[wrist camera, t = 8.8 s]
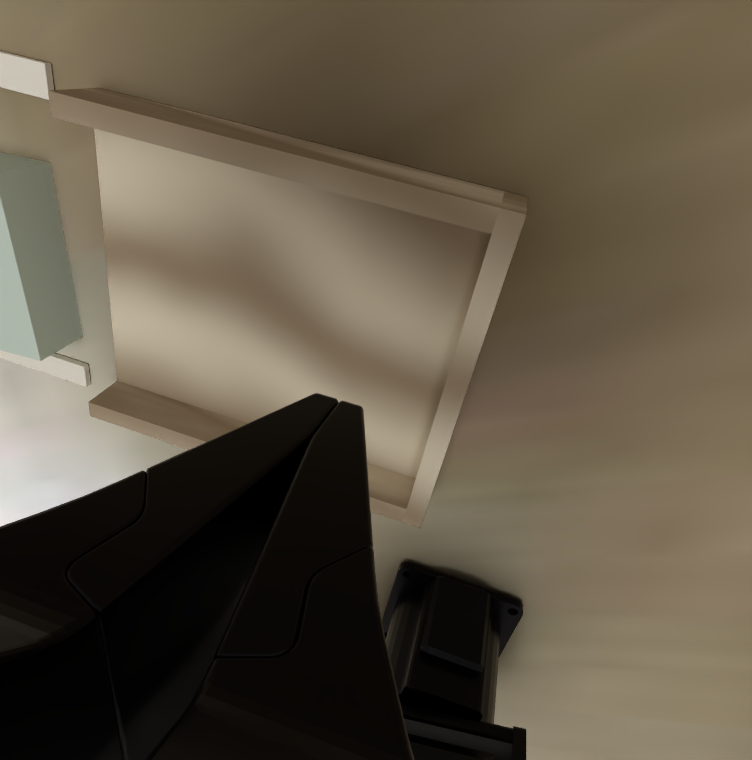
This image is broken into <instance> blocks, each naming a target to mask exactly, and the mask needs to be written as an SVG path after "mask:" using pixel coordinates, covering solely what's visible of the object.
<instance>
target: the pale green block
mask: <svg viewBox="0 0 752 760" xmlns="http://www.w3.org/2000/svg"><path fill="white" fill-rule="evenodd" d="M82 336H83V333H82V328H81V323H80V317H79V312H78V307H77V301H76V296H75V291H74V286H73V280H72V275H71V270H70V265H69V259H68V254H67V249H66V243H65V238H64V233H63V228H62V222H61V217H60V212H59V207H58V201H57V196H56V191H55V185H54V180H53V175H52V170H51V164H50V162H45V161H40V160H35V159H30V158H25V157H20V156H15V155H11V154H6V153H1V152H0V350H2V351H5V352H9V353H13V354H16V355H20V356H24V357H27V358H31V359H35V360H38V361H42V360H43V359H45V358H47V357H49V356H50V355H52V354H54V353H55V352H57V351H59V350H60V349H62V348H64V347H65V346H67V345H69V344H70V343H72V342H74V341H76V340H77V339H79V338H81V337H82Z"/></svg>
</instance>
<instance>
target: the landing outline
mask: <svg viewBox="0 0 752 760" xmlns="http://www.w3.org/2000/svg"><path fill="white" fill-rule="evenodd" d="M0 87H2V88H6V89H10V90H13V91H17V92H21V93H25V94H29V95H33V96H36V97H40V98H44V99H48V100H49V95H48V91H50V90H54V84H53V76H52V68H51V63H47V62H43V61H39V60H35V59H31V58H27V57H23V56H19V55H15V54H11V53H7V52H3V51H0ZM0 358H2V359H5V360H8V361H11V362H14V363H17V364H20V365H23V366H26V367H29V368H32V369H35V370H38V371H41V372H44V373H47V374H50V375H53V376H56V377H59V378H62V379H65V380H68V381H71V382H74V383H77V384H80V385H83V386H86V387H87V386H88V385H90V384H91V381H90V373H89V365H88V364H86V363H83V362H80V361H77V360H74V359H71V358H68V357H65V356H62V355H59V354H56V353H54V354H52V355H50V356H49V357H47V358H45V359H43V360H42V361H38V360H35V359H31V358H27V357H24V356H20V355H16V354H13V353H9V352H5V351H2V350H0Z"/></svg>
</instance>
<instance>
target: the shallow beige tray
mask: <svg viewBox="0 0 752 760" xmlns="http://www.w3.org/2000/svg"><path fill="white" fill-rule="evenodd" d="M48 95H49V103H50V111H51V117H53V118H57V119H60V120H64V121H68V122H72V123H76V124H79V125H83V126H87V127H91V128H94V132H95V143H96V153H97V164H98V175H99V186H100V197H101V208H102V219H103V230H104V241H105V252H106V262H107V273H108V284H109V295H110V306H111V317H112V328H113V339H114V350H115V361H116V371H117V381H116V382H115V383H114V384H112V385H111V386H110V387H108V388H107V389H106V390H104V391H103V392H102V393H100V394H99V395H98V396H96V397H95V398H94V399H92V400H91V401H89V410H90V416H92V417H95V418H98V419H101V420H104V421H107V422H109V423H112V424H115V425H118V426H121V427H124V428H127V429H130V430H133V431H136V432H139V433H142V434H145V435H148V436H151V437H154V438H157V439H159V440H162V441H165V442H168V443H171V444H174V445H177V446H180V447H183V448H186V449H189V450H190V449H192V448H194V447H196V446H199V445H201V444H203V443H205V442H208V441H210V440H212V439H214V438H216V437H219V436H221V435H223V434H225V433H228V432H230V431H232V430H234V429H236V428H239V427H241V426H243V425H245V424H247V423H250V422H252V421H254V420H256V419H259V418H261V417H263V416H265V415H267V414H270V413H272V412H274V411H276V410H279V409H281V408H283V407H285V406H287V405H290V404H292V403H294V402H296V401H299V400H301V399H303V398H305V397H307V396H310V395H312V394H315V393H319V394H323V395H326V396H329V397H333V398H336V399H337V400H338V402H340V401H346V402H349V403H353V404H356V405H359V406H361V407H362V408H363V410H364V425H365V439H366V454H367V468H368V483H369V497H370V511H371V512H374V513H377V514H380V515H383V516H386V517H389V518H392V519H395V520H398V521H401V522H403V523H406V524H409V525H412V526H415V527H418V528H420V527H421V524H422V521H423V518H424V516H425V513H426V510H427V507H428V504H429V501H430V498H431V495H432V492H433V489H434V486H435V483H436V480H437V477H438V474H439V471H440V468H441V465H442V462H443V460H444V457H445V454H446V451H447V448H448V445H449V442H450V439H451V436H452V433H453V430H454V427H455V424H456V421H457V418H458V415H459V412H460V409H461V406H462V404H463V401H464V398H465V395H466V392H467V389H468V386H469V383H470V380H471V377H472V374H473V371H474V368H475V365H476V362H477V359H478V356H479V353H480V350H481V348H482V345H483V342H484V339H485V336H486V333H487V330H488V327H489V324H490V321H491V318H492V315H493V312H494V309H495V306H496V303H497V300H498V297H499V295H500V292H501V289H502V286H503V283H504V280H505V277H506V274H507V271H508V268H509V265H510V262H511V259H512V256H513V253H514V250H515V247H516V244H517V241H518V239H519V236H520V233H521V230H522V227H523V224H524V221H525V218H526V215H527V206H528V197H525V196H522V195H518V194H514V193H510V192H506V191H502V190H498V189H494V188H490V187H486V186H482V185H478V184H475V183H471V182H467V181H463V180H459V179H455V178H451V177H447V176H443V175H439V174H435V173H431V172H428V171H424V170H420V169H416V168H412V167H408V166H404V165H400V164H396V163H392V162H388V161H384V160H381V159H377V158H373V157H369V156H365V155H361V154H357V153H353V152H349V151H345V150H341V149H337V148H334V147H330V146H326V145H322V144H318V143H314V142H310V141H306V140H302V139H298V138H294V137H290V136H287V135H283V134H279V133H275V132H271V131H267V130H263V129H259V128H255V127H251V126H247V125H243V124H240V123H236V122H232V121H228V120H224V119H220V118H216V117H212V116H208V115H204V114H200V113H196V112H193V111H189V110H185V109H181V108H177V107H173V106H169V105H165V104H161V103H157V102H153V101H149V100H146V99H142V98H138V97H134V96H130V95H126V94H122V93H118V92H114V91H110V90H106V89H102V88H88V89H69V90H50V91H48Z"/></svg>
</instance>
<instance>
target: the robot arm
mask: <svg viewBox="0 0 752 760" xmlns="http://www.w3.org/2000/svg"><path fill="white" fill-rule="evenodd" d="M372 548H373V541H372V526H371V512H370V497H369V483H368V468H367V454H366V439H365V425H364V410H363V408H362V407H361V406H359V405H356V404H353V403H349V402H346V401H340V402H338V400H337V399H336V398H333V397H329V396H326V395H323V394H319V393H315V394H312V395H310V396H307V397H305V398H303V399H301V400H299V401H296V402H294V403H292V404H290V405H287V406H285V407H283V408H281V409H279V410H276V411H274V412H272V413H270V414H267V415H265V416H263V417H261V418H259V419H256V420H254V421H252V422H250V423H247V424H245V425H243V426H241V427H239V428H236V429H234V430H232V431H230V432H228V433H225V434H223V435H221V436H219V437H216V438H214V439H212V440H210V441H208V442H205V443H203V444H201V445H199V446H196V447H194V448H192V449H190V450H188V451H185V452H183V453H181V454H179V455H176V456H174V457H172V458H170V459H168V460H165V461H163V462H161V463H159V464H156V465H154V466H152V467H150V468H148V469H147V471H146V472H145V471H140V472H138V473H136V474H134V475H132V476H129V477H127V478H125V479H123V480H120V481H118V482H116V483H113V484H111V485H109V486H106V487H104V488H102V489H99V490H97V491H95V492H92V493H90V494H87V495H85V496H83V497H80V498H77V499H75V500H72V501H69V502H67V503H64V504H61V505H59V506H56V507H54V508H51V509H48V510H46V511H43V512H40V513H37V514H35V515H32V516H29V517H26V518H23V519H21V520H18V521H15V522H12V523H9V524H7V525H4V526H1V527H0V760H526V729H523V728H519V727H515V726H513V728H508V727H504V726H500V725H495V724H494V712H495V698H496V685H497V671H498V658H499V656H500V654H501V653H502V651H503V649H504V647H505V645H506V644H507V642H508V640H509V638H510V637H511V635H512V633H513V631H514V630H515V628H516V626H517V624H518V622H519V621H520V619H521V617H522V615H523V604H522V603H521V602H520V601H519V600H517V599H514V598H512V597H509V596H506V595H503V594H500V593H497V592H494V591H492V590H489V589H486V588H483V587H480V586H477V585H474V584H472V583H469V582H466V581H463V580H460V579H457V578H454V577H451V576H449V575H446V574H443V573H440V572H437V571H434V570H431V569H429V568H426V567H423V566H420V565H417V564H414V563H411V562H403V563H401V565H400V567H399V570H398V573H397V576H396V579H395V582H394V585H393V588H392V591H391V594H390V597H389V601H388V604H387V607H386V610H385V613H384V616H383V619H382V618H381V613H380V608H379V602H378V594H377V585H376V576H375V566H374V552H373V549H372Z"/></svg>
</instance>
